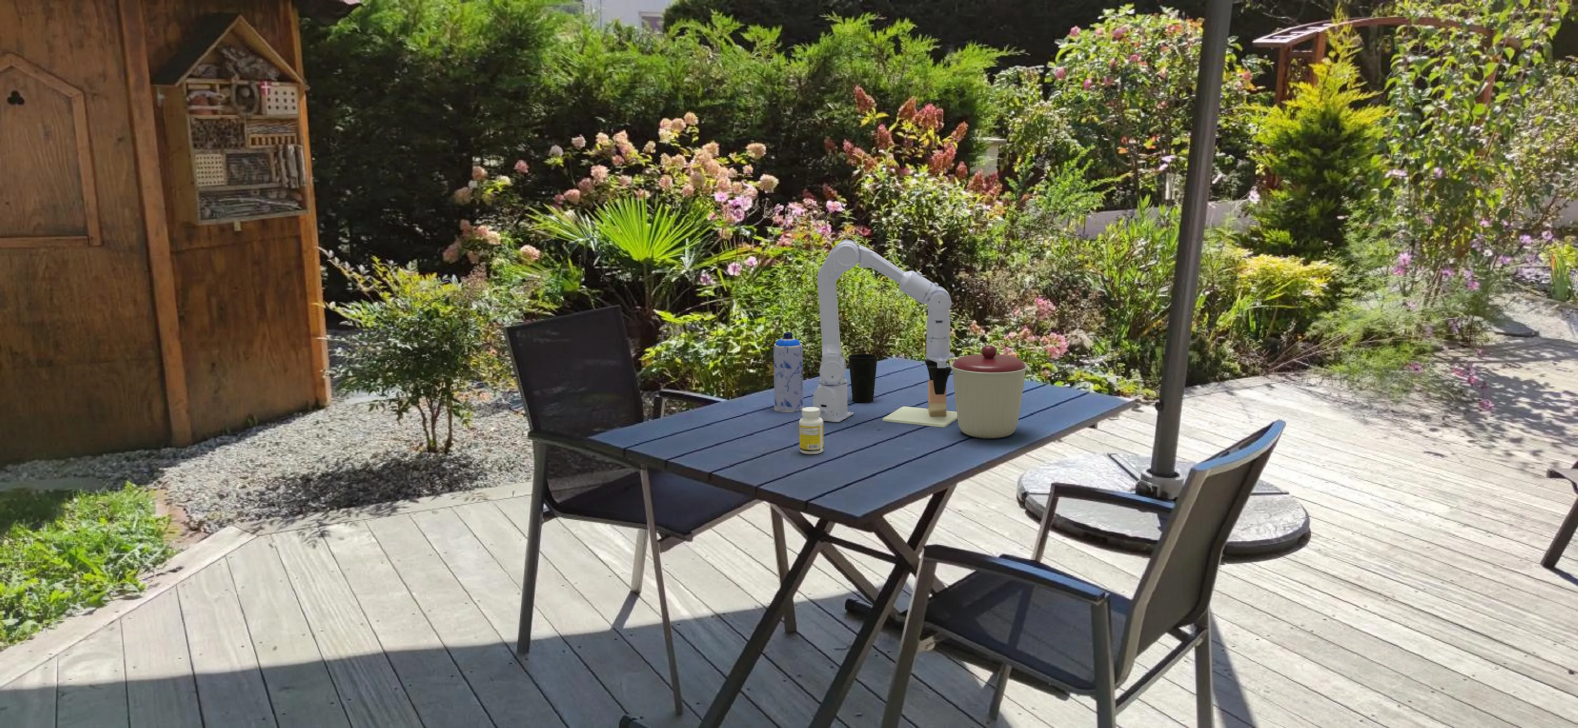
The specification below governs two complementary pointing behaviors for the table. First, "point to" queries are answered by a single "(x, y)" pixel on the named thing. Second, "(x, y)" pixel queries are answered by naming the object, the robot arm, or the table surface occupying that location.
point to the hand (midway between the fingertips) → (937, 390)
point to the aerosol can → (788, 374)
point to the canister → (988, 393)
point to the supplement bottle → (811, 431)
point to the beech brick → (937, 409)
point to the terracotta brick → (932, 396)
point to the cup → (862, 376)
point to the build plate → (920, 417)
